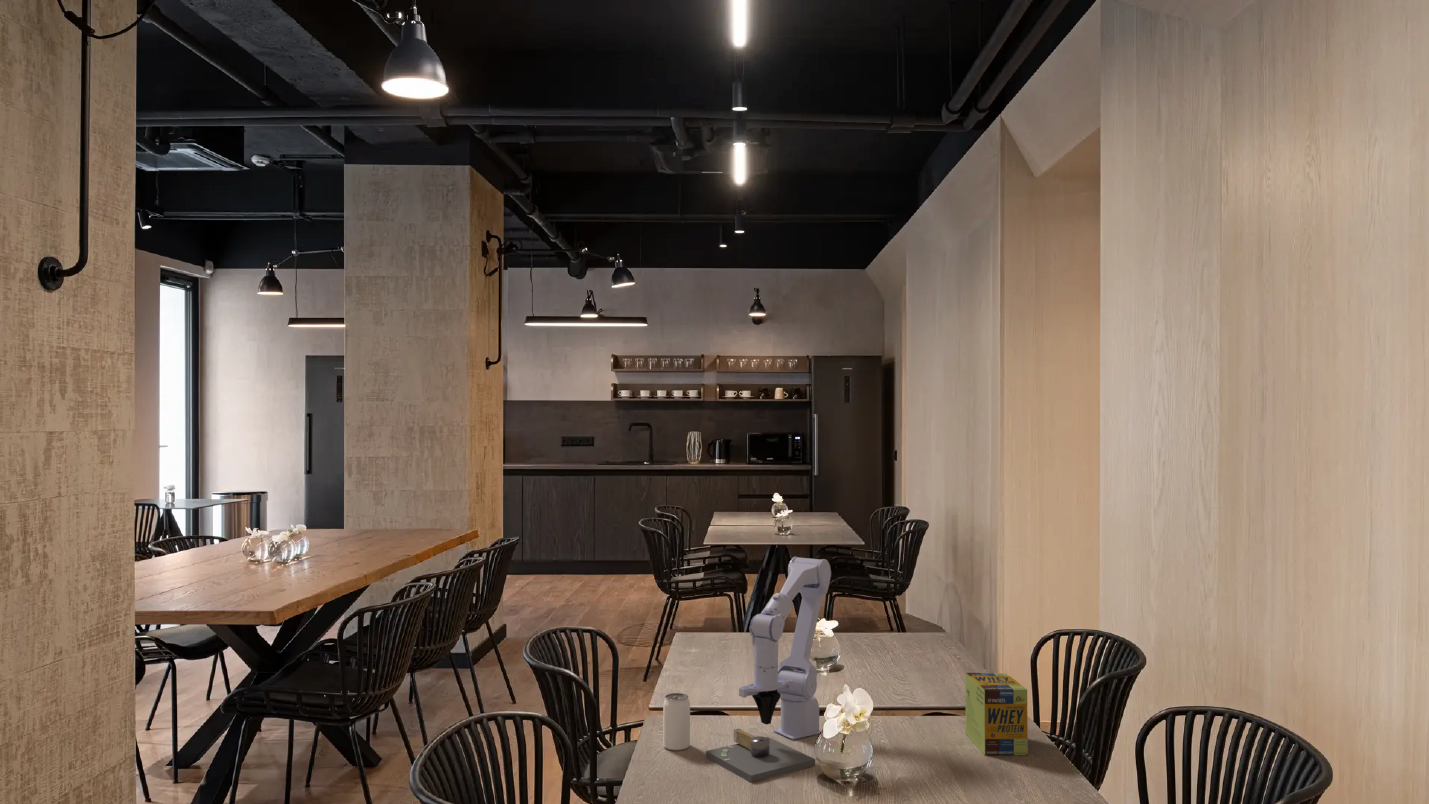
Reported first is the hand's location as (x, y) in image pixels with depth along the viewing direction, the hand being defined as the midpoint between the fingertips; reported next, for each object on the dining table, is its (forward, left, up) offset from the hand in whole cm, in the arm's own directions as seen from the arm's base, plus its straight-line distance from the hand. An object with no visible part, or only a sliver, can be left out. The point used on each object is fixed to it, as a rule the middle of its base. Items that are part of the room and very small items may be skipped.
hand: (766, 723), depth 216 cm
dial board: (+5, +5, -7) cm, 10 cm away
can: (+16, -14, -7) cm, 23 cm away
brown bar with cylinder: (+5, +1, -5) cm, 7 cm away
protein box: (-50, +27, -7) cm, 57 cm away
